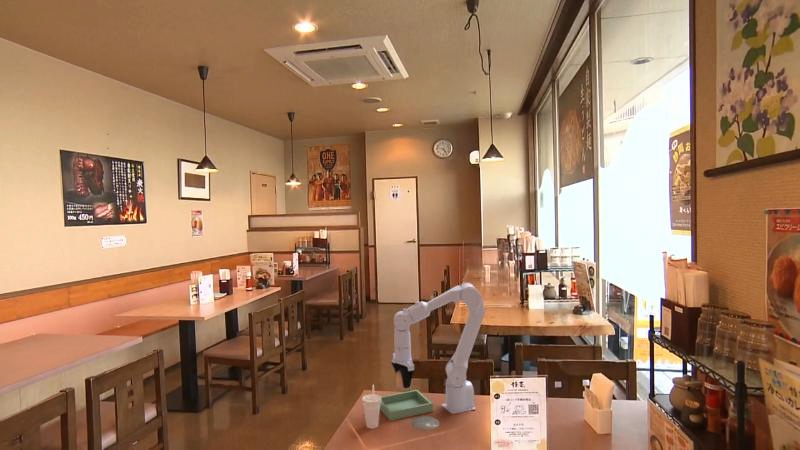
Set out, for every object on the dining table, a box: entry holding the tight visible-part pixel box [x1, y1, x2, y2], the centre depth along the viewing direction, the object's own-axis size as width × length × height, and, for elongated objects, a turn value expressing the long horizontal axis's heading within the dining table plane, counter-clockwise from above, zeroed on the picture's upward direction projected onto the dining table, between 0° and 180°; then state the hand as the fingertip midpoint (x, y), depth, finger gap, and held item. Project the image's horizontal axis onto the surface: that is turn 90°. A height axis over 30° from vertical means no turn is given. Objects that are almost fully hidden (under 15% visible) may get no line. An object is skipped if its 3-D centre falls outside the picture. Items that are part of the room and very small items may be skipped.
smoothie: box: [361, 383, 382, 429], centre depth 140 cm, size 6×6×14 cm
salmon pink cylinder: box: [395, 371, 412, 393], centre depth 152 cm, size 5×5×6 cm
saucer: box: [411, 416, 440, 431], centre depth 141 cm, size 9×9×1 cm
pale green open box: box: [380, 389, 434, 422], centre depth 152 cm, size 16×13×3 cm
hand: (403, 384), depth 152 cm, fingers closed on salmon pink cylinder, 5 cm apart
